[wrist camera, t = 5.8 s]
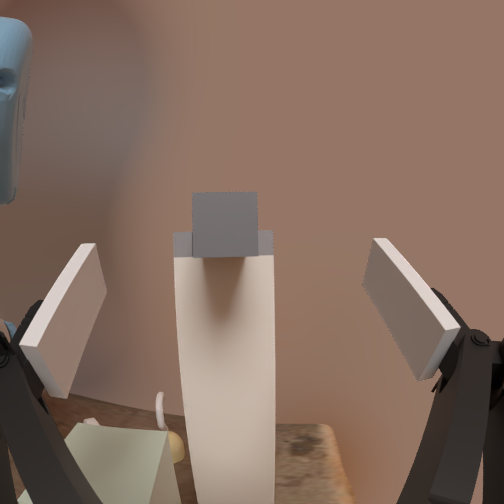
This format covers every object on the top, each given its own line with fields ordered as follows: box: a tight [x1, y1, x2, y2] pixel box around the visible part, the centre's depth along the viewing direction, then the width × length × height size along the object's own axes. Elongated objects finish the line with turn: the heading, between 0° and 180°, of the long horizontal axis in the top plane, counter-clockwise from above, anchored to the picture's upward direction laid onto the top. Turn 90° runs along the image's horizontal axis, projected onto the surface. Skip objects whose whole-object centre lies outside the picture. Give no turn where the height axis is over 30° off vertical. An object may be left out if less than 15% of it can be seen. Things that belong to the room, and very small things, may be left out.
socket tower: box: [174, 230, 275, 504], centre depth 32 cm, size 8×14×34 cm, turn 6°
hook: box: [156, 392, 185, 463], centre depth 42 cm, size 6×5×12 cm
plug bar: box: [192, 192, 259, 258], centre depth 27 cm, size 4×20×4 cm, turn 6°
